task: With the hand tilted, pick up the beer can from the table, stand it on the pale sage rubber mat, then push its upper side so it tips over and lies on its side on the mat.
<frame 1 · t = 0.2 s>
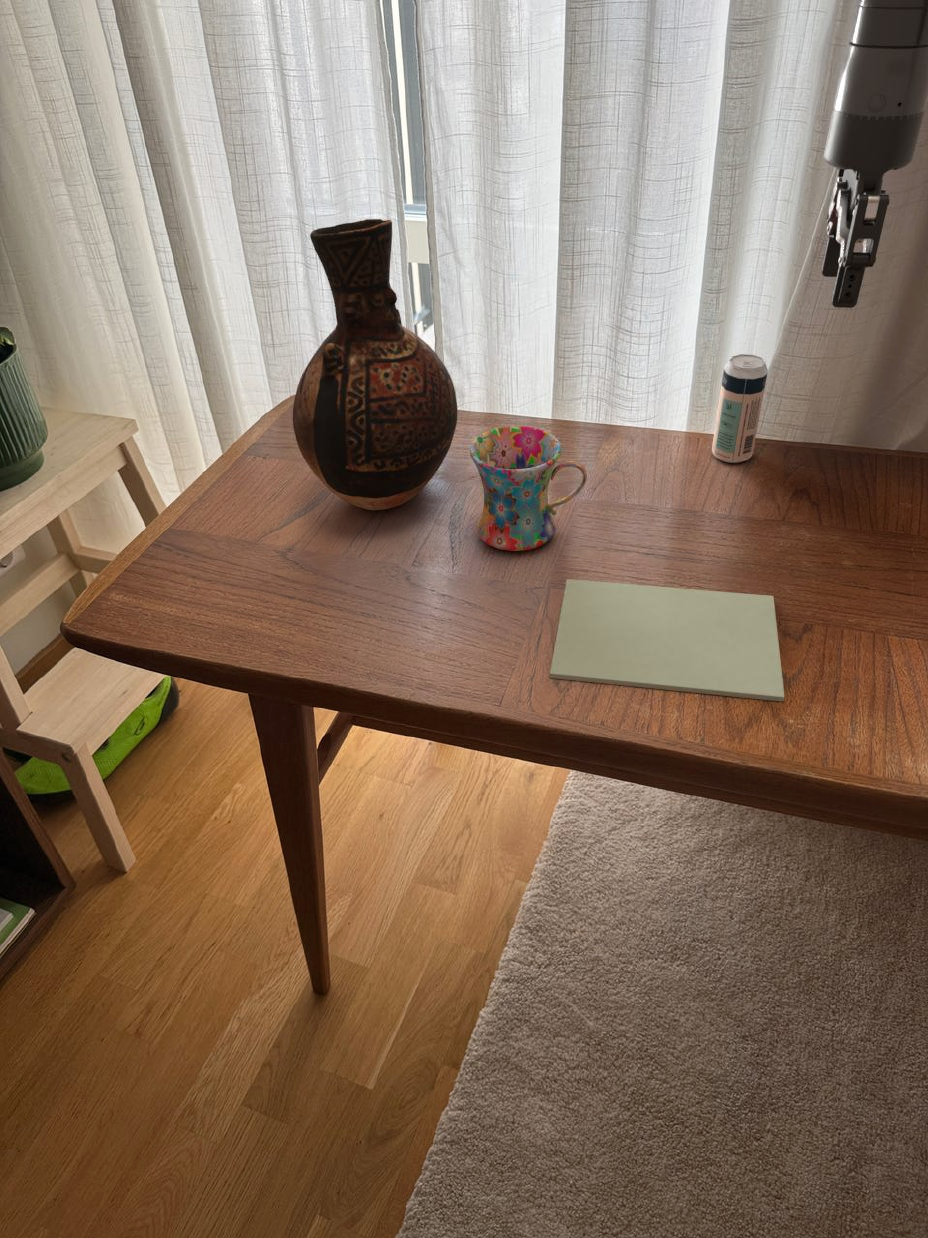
hand: (837, 290, 87), 22 cm above the table, tool pointing down, fingers open, 8 cm apart
mug: (528, 536, 96), on the table
mat: (665, 637, 82), on the table
ceramic vessel: (385, 492, 105), on the table
beer can: (731, 456, 107), on the table
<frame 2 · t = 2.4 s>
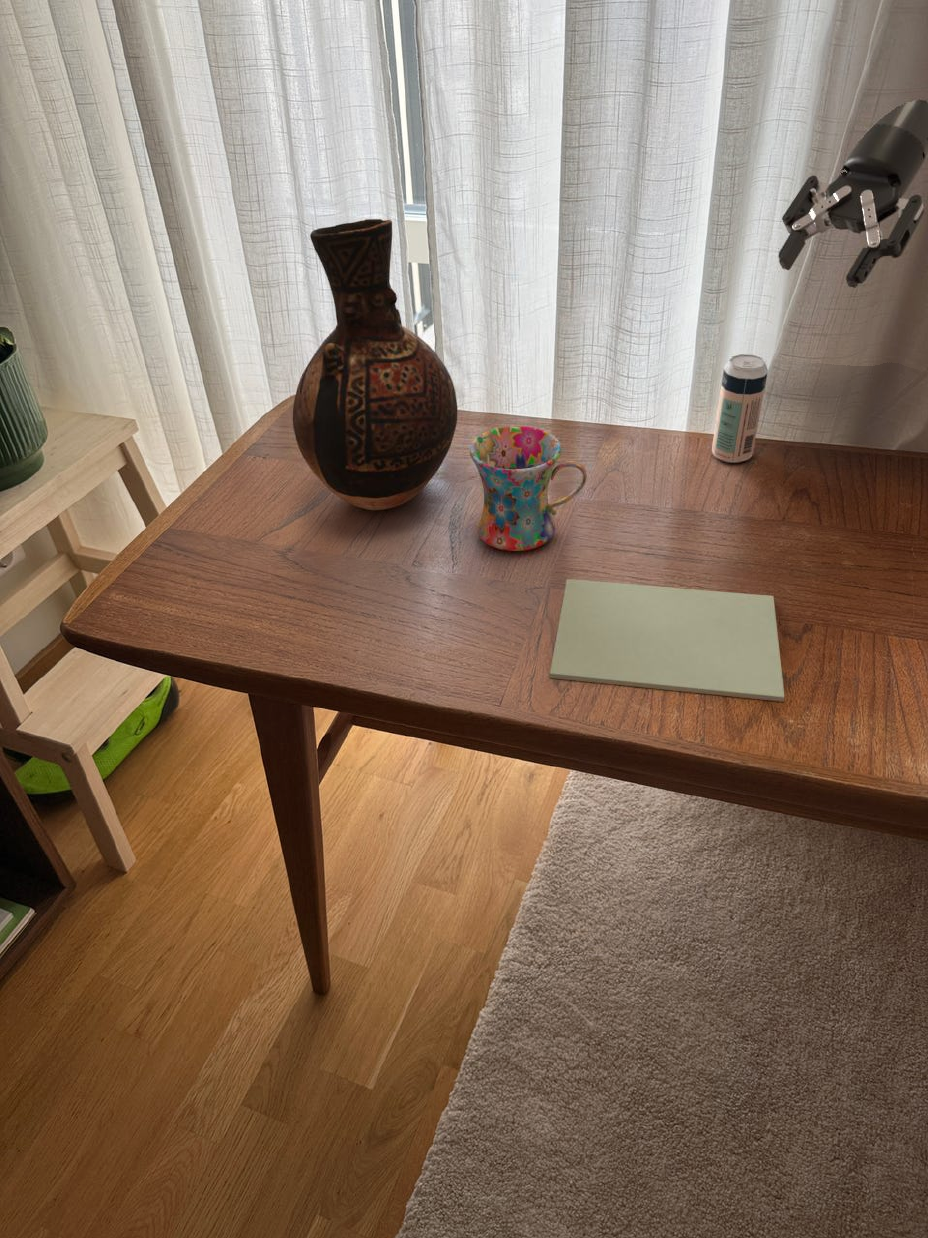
hand: (816, 274, 101), 19 cm above the table, tool tilted 45°, fingers open, 8 cm apart
nothing on the table moved.
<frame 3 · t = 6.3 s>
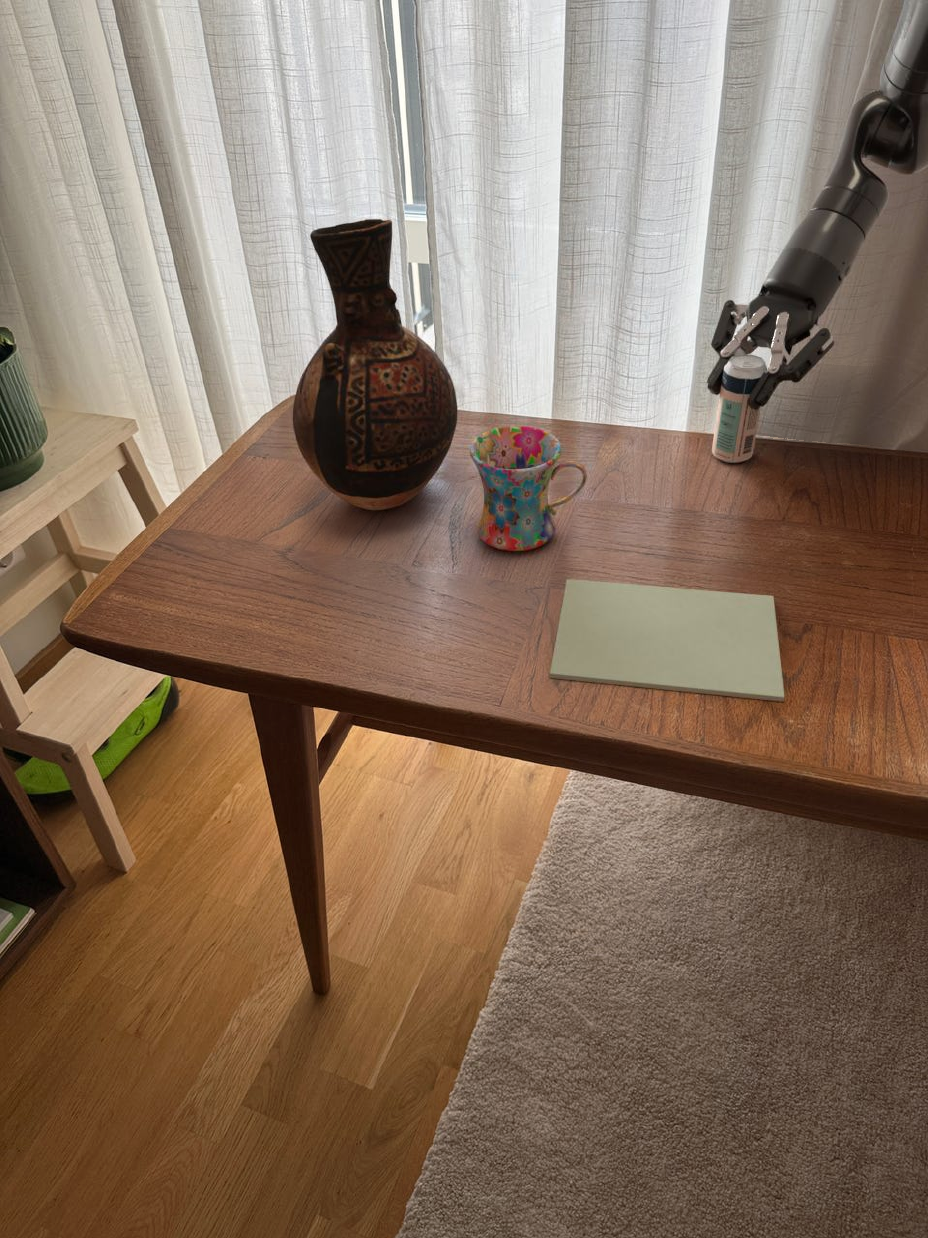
hand: (732, 398, 101), 8 cm above the table, tool tilted 45°, fingers closed on beer can, 4 cm apart
beer can: (731, 457, 107), on the table, touching gripper
everything else where it was.
when the fingers open (9 cm above the table, at t = 17.1 s): beer can stays where it is, resting on mat.
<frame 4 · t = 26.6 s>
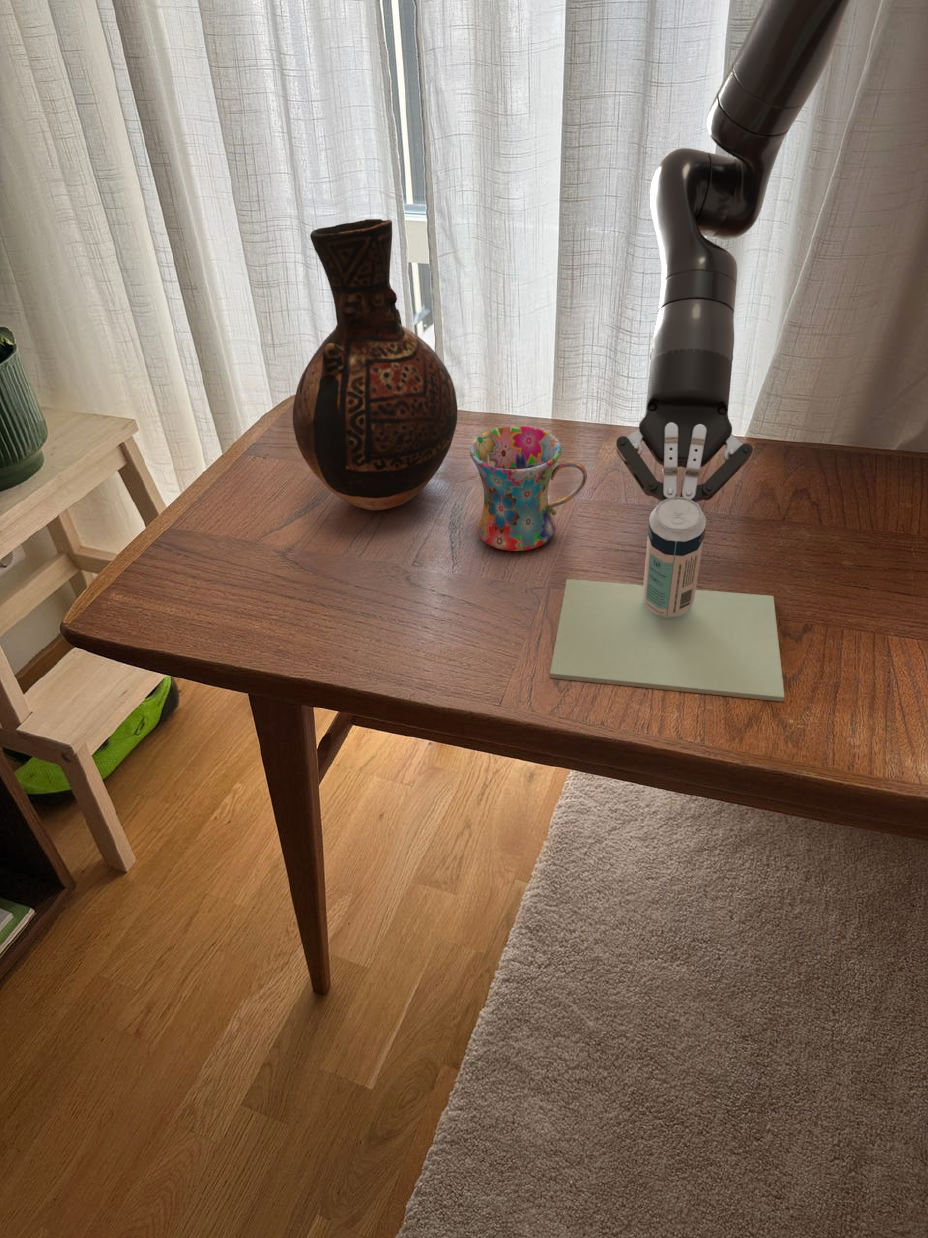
hand: (674, 541, 82), 7 cm above the table, tool tilted 45°, fingers closed
beer can: (667, 602, 85), point 1 cm above the table, touching mat
everything else where it was.
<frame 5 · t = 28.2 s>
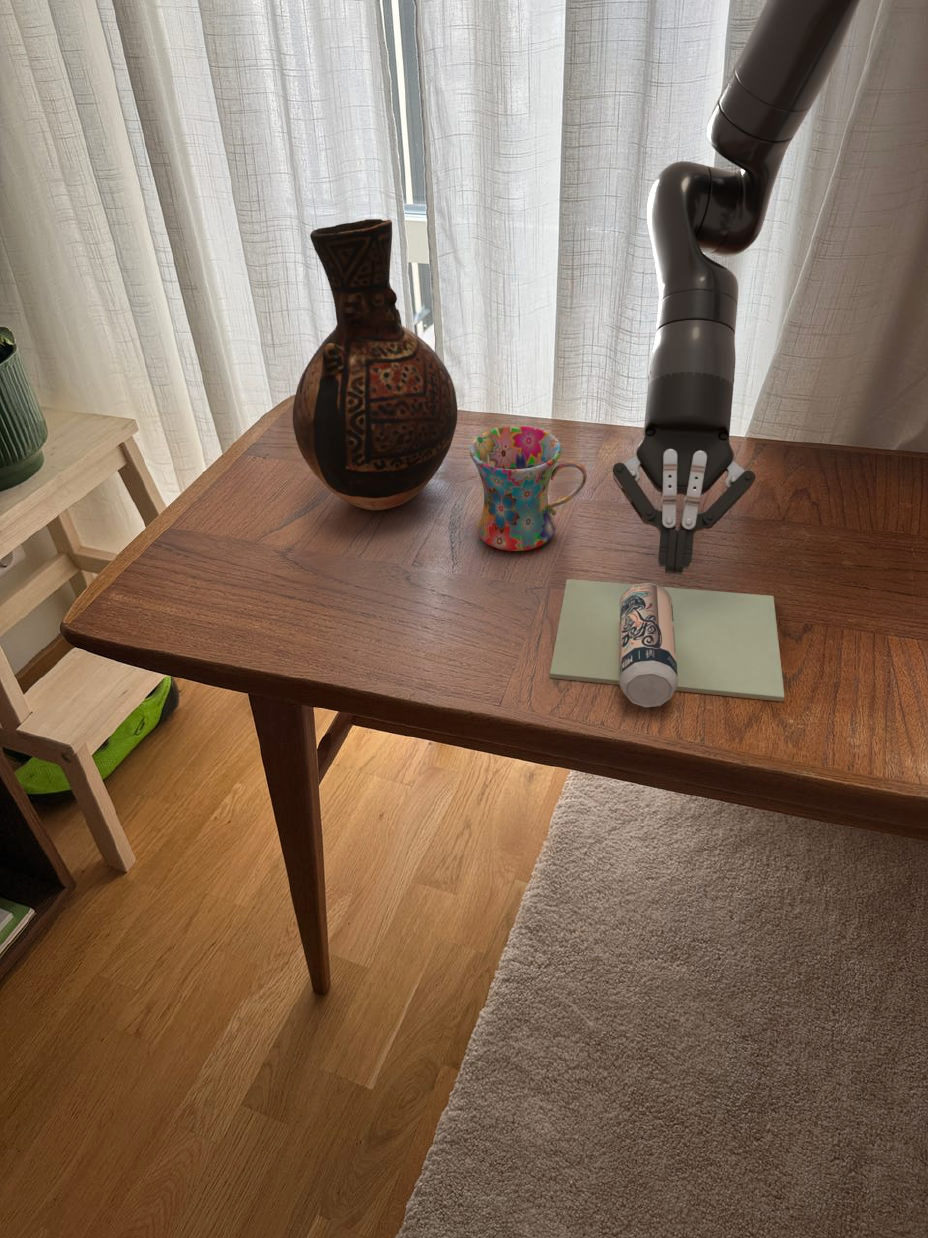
hand: (673, 572, 79), 7 cm above the table, tool tilted 45°, fingers closed
beer can: (645, 598, 82), point 3 cm above the table, touching mat
everything else where it was.
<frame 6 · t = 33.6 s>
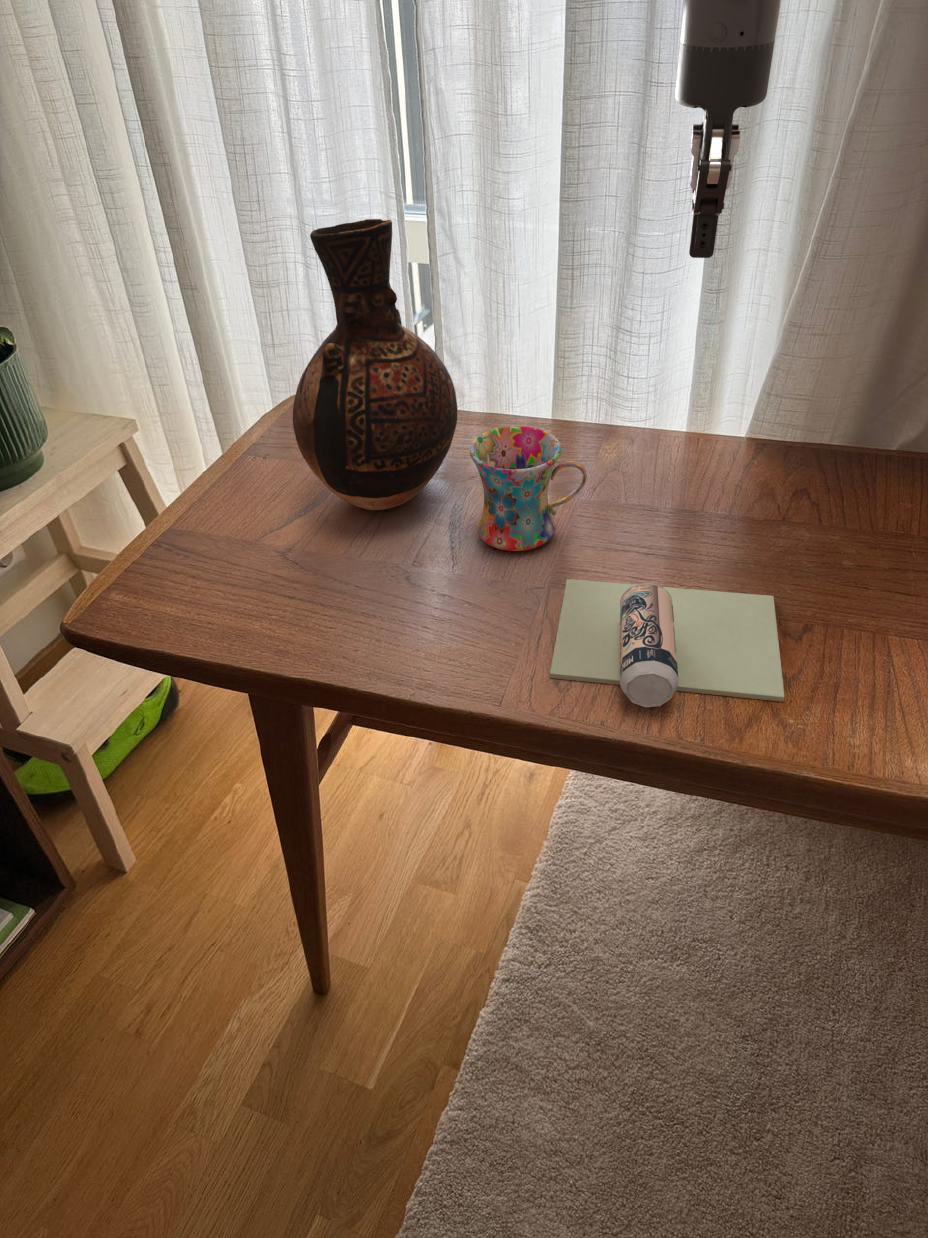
hand: (700, 254, 83), 27 cm above the table, tool pointing down, fingers closed
nothing on the table moved.
at the end: beer can tilted 90°; beer can inside the target area on the mat (2.8 cm from its centre), point 3.0 cm above the mat's base; the gripper is holding nothing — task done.
